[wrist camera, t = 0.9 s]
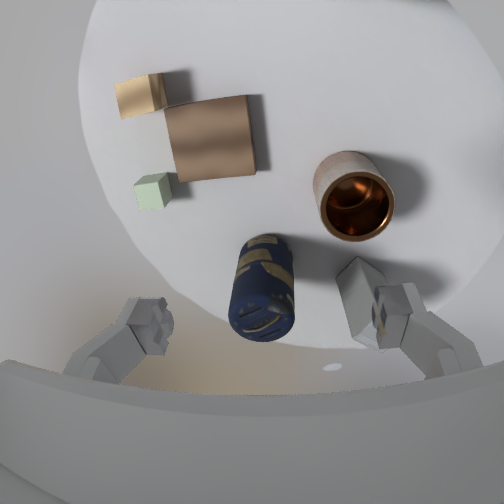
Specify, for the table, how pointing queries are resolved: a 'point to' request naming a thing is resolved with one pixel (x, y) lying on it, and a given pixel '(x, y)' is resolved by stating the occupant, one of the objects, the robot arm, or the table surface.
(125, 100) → the oak cube
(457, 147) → the table surface
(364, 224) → the planter
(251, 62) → the table surface
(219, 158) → the base plate
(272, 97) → the table surface
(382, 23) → the table surface
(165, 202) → the green cube
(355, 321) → the skincare box
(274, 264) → the canister
